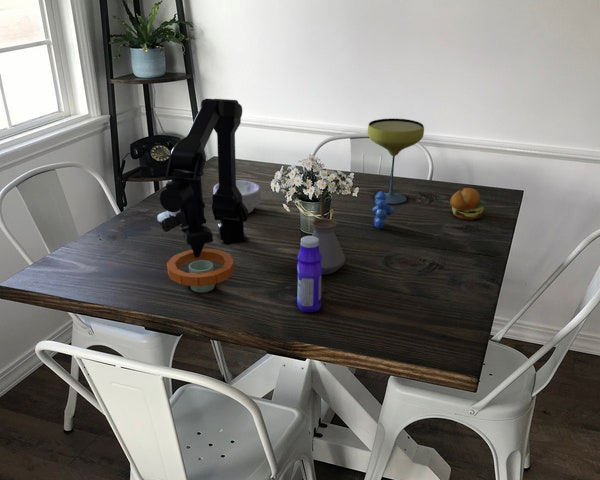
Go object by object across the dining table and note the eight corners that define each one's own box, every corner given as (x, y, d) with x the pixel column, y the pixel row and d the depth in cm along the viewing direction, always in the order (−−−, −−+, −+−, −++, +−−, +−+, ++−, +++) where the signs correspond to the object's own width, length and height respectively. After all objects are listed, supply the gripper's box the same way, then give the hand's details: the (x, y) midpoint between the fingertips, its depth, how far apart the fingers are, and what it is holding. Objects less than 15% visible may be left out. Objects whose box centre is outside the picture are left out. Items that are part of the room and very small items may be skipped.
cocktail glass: (365, 188, 221) (369, 117, 209) (416, 191, 219) (423, 119, 207) (362, 206, 206) (366, 130, 194) (418, 209, 204) (425, 132, 191)
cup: (212, 279, 160) (210, 258, 157) (217, 290, 155) (215, 268, 152) (188, 283, 158) (186, 262, 155) (193, 294, 153) (191, 272, 150)
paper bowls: (270, 207, 205) (269, 184, 201) (242, 222, 194) (241, 198, 190) (233, 199, 212) (232, 176, 208) (204, 212, 201) (202, 189, 197)
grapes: (394, 236, 184) (397, 197, 178) (371, 235, 185) (374, 197, 179) (392, 221, 194) (395, 184, 189) (370, 221, 195) (372, 184, 189)
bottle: (295, 299, 151) (295, 233, 142) (319, 298, 151) (320, 232, 143) (298, 314, 144) (298, 246, 136) (322, 313, 145) (324, 245, 136)
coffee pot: (346, 277, 161) (348, 223, 154) (301, 277, 161) (301, 223, 154) (341, 244, 180) (342, 194, 172) (301, 244, 179) (301, 194, 172)
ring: (225, 253, 163) (225, 245, 162) (240, 280, 150) (240, 271, 149) (164, 262, 159) (163, 253, 158) (173, 290, 146) (173, 281, 144)
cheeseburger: (491, 216, 198) (491, 188, 192) (467, 230, 194) (467, 203, 188) (467, 206, 205) (466, 179, 199) (444, 220, 202) (442, 193, 195)
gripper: (152, 189, 158) (159, 245, 165) (163, 215, 142) (169, 276, 150) (196, 184, 161) (201, 240, 168) (211, 209, 145) (215, 269, 153)
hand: (196, 255), depth 160 cm, fingers closed on ring, 2 cm apart
